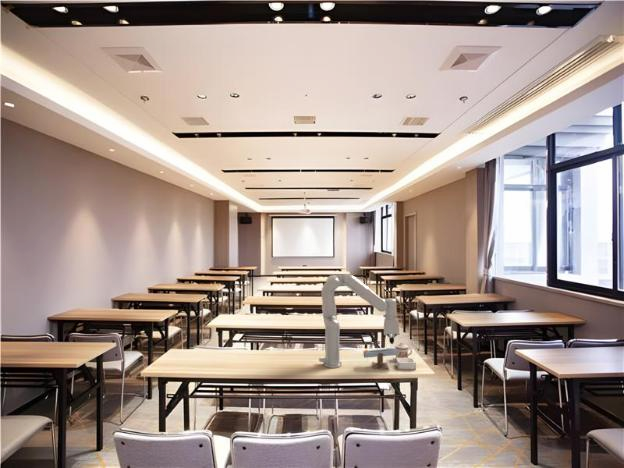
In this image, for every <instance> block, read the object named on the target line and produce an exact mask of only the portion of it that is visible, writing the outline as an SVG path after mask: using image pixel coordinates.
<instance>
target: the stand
mask: <svg viewBox="0 0 624 468" xmlns="http://www.w3.org/2000/svg"><path fill="white" fill-rule="evenodd" d="M376 358H377V359H376V361H377V362H374V361H373V362H371V364H372V369H373V370H390V369H389V365H388V362H384V356H383V354H378V357H376Z"/></svg>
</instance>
